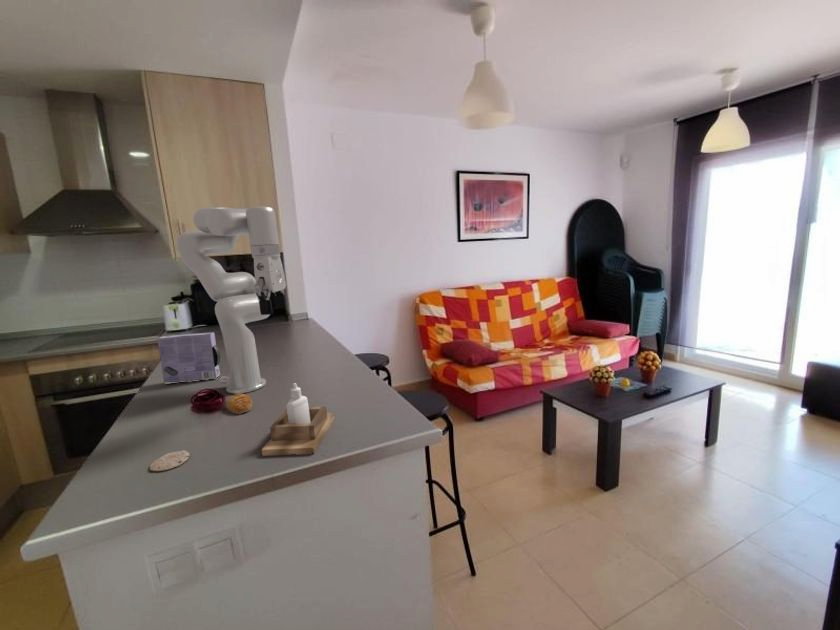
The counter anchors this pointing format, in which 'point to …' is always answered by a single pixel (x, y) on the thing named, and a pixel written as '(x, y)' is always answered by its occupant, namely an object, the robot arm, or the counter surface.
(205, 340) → the cake pan box
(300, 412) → the eye dropper bottle
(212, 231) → the robot arm
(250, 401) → the pastry
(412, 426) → the counter surface
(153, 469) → the flatbread
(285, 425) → the holder stand
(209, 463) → the counter surface
